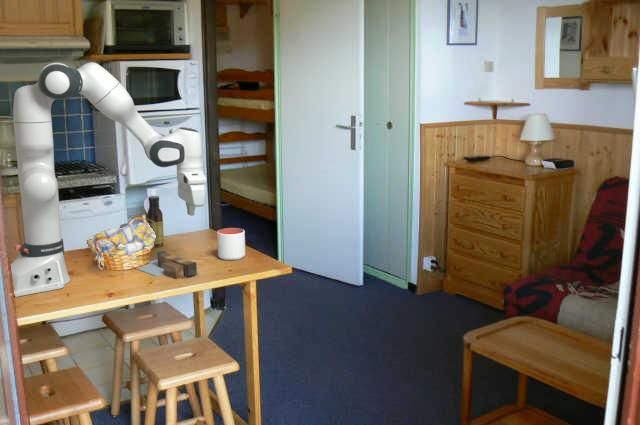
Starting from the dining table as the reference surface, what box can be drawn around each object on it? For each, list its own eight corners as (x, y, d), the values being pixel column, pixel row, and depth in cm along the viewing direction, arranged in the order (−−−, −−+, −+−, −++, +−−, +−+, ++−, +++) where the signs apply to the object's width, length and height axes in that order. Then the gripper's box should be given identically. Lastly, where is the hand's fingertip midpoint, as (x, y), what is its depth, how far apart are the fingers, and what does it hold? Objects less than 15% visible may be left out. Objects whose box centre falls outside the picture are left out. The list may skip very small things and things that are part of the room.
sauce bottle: (146, 245, 277) (143, 195, 273) (162, 243, 279) (159, 194, 275) (149, 249, 271) (146, 198, 267) (166, 247, 274) (163, 197, 269)
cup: (247, 260, 256) (246, 233, 254) (219, 262, 254) (218, 235, 251) (243, 252, 265) (242, 227, 263) (216, 254, 263) (215, 228, 261)
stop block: (178, 279, 234) (177, 268, 233) (164, 274, 239) (163, 263, 238) (198, 274, 240) (197, 263, 239) (184, 269, 245) (183, 258, 244)
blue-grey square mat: (156, 276, 238) (156, 275, 237) (130, 267, 248) (130, 266, 248) (194, 266, 249) (194, 265, 249) (168, 257, 260) (168, 256, 260)
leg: (155, 265, 248) (155, 252, 247) (164, 263, 251) (163, 250, 250) (188, 276, 235) (187, 263, 234) (196, 274, 238) (196, 260, 237)
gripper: (172, 171, 248) (174, 209, 251) (189, 180, 230) (190, 221, 233) (190, 170, 251) (191, 208, 254) (208, 179, 233) (208, 220, 236)
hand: (190, 214), depth 243 cm, fingers closed
